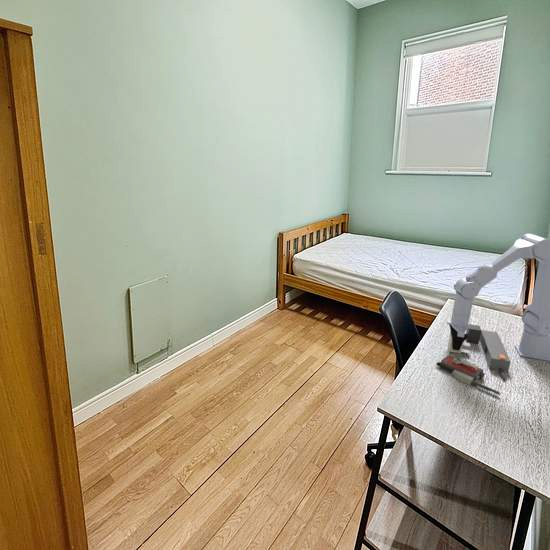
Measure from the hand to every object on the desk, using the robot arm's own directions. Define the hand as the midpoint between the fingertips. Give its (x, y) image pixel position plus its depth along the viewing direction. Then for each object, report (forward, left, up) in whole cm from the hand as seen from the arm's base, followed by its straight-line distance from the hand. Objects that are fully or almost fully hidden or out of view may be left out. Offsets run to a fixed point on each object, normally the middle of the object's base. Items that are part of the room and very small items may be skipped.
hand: (454, 345), depth 131 cm
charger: (-1, 0, -1) cm, 2 cm away
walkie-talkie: (-3, +17, -2) cm, 17 cm away
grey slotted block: (-10, +1, -2) cm, 10 cm away
